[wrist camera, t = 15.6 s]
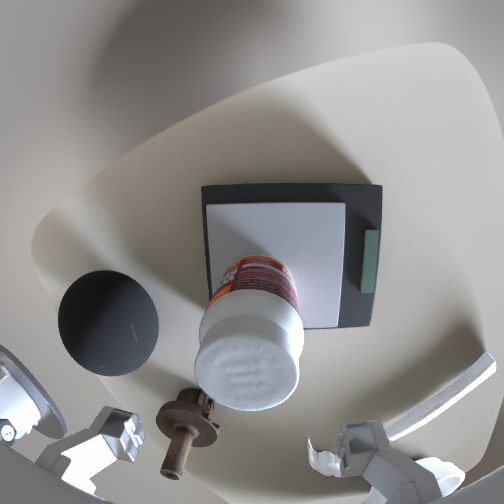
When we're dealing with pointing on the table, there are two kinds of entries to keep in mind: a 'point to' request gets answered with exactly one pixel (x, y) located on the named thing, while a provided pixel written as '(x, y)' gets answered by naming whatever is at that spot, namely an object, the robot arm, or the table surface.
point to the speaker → (108, 323)
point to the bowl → (444, 473)
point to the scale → (302, 242)
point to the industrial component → (186, 428)
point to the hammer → (416, 412)
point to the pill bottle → (251, 336)
